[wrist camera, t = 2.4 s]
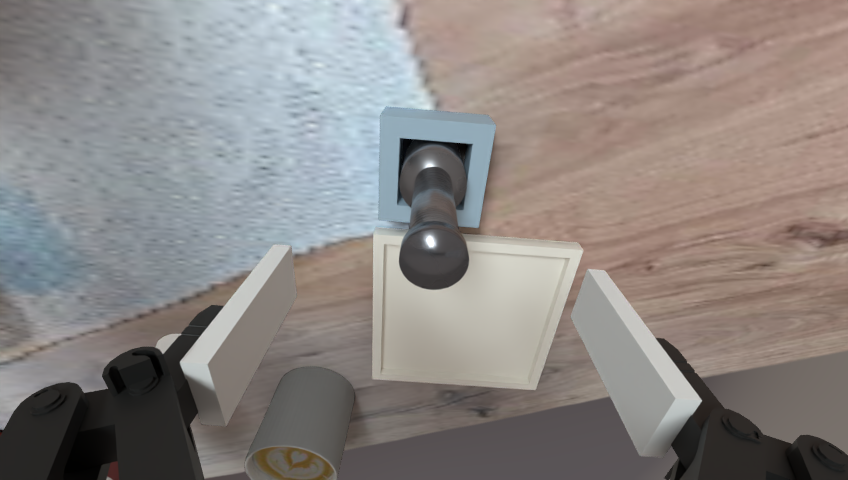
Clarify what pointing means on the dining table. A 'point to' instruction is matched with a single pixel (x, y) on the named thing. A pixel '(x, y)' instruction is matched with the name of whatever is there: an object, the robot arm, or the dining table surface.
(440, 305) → the tray
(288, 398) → the coffee mug
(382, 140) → the ring
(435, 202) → the pestle
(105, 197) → the dining table surface
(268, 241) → the dining table surface
